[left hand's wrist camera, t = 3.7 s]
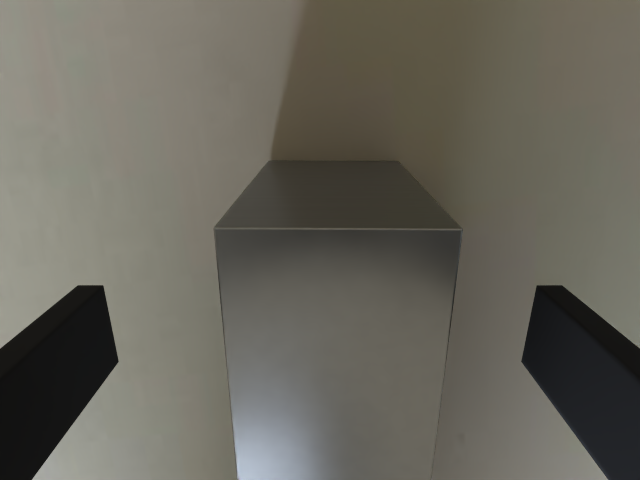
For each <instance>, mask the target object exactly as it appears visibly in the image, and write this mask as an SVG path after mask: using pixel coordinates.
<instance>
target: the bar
mask: <svg viewBox="0 0 640 480" xmlns="http://www.w3.org/2000/svg"><path fill="white" fill-rule="evenodd" d="M462 231H463V230H462V228H461V227H460V226H459V225H458V224H457V223H456V222H455V221H454V220H453V219H452V218H451V216H450V215H449V214H448V213H447V212H446V211H445V210H444V209H443V208H442V207H441V206H440V205H439V204H438V203H437V202H436V201H435V200H434V199H433V198H432V196H431V195H430V194H429V193H428V192H427V191H426V190H425V189H424V188H423V187H422V186H421V185H420V184H419V183H418V182H417V181H416V180H415V179H414V177H413V176H412V175H411V174H410V173H409V172H408V171H407V170H406V169H405V168H404V167H403V166H402V165H401V164H400V163H399V162H398V161H268V162H267V163H266V165H265V166H264V167H263V168H262V169H261V171H260V172H259V173H258V174H257V176H256V177H255V178H254V179H253V180H252V182H251V183H250V184H249V185H248V187H247V188H246V189H245V190H244V191H243V193H242V194H241V195H240V196H239V198H238V199H237V200H236V201H235V202H234V204H233V205H232V206H231V207H230V209H229V210H228V211H227V212H226V213H225V215H224V216H223V217H222V218H221V220H220V221H219V222H218V223H217V225H216V226H215V227H214V237H215V247H216V258H217V269H218V279H219V290H220V300H221V311H222V322H223V332H224V343H225V354H226V364H227V375H228V386H229V396H230V407H231V417H232V428H233V439H234V449H235V460H236V471H237V480H431V476H432V468H433V461H434V453H435V445H436V437H437V429H438V421H439V413H440V405H441V397H442V389H443V381H444V374H445V366H446V358H447V350H448V342H449V334H450V326H451V318H452V310H453V302H454V294H455V287H456V279H457V271H458V263H459V255H460V247H461V239H462Z"/></svg>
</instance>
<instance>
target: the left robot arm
mask: <svg viewBox="0 0 640 480" xmlns="http://www.w3.org/2000/svg"><path fill="white" fill-rule="evenodd" d="M118 362H119V361H118V356H117V351H116V346H115V342H114V337H113V332H112V327H111V322H110V317H109V312H108V307H107V302H106V297H105V292H104V287H103V285H78V286H77V287H75V288H74V289H73V290H72V291H71V292H69V293H68V294H67V295H66V296H64V297H63V298H62V299H61V300H59V301H58V302H57V303H56V304H55V305H53V306H52V307H51V308H50V309H48V310H47V311H46V312H45V313H44V314H42V315H41V316H40V317H39V318H37V319H36V320H35V321H34V322H32V323H31V324H30V325H29V326H28V327H26V328H25V329H24V330H23V331H21V332H20V333H19V334H18V335H17V336H15V337H14V338H13V339H12V340H10V341H9V342H8V343H7V344H6V345H4V346H3V347H2V348H1V349H0V480H32V479H33V477H34V476H35V474H36V473H37V472H38V470H39V469H40V468H41V466H42V465H43V464H44V462H45V461H46V460H47V458H48V457H49V455H50V454H51V453H52V451H53V450H54V449H55V447H56V446H57V445H58V443H59V442H60V441H61V439H62V438H63V436H64V435H65V434H66V432H67V431H68V430H69V428H70V427H71V426H72V424H73V423H74V422H75V420H76V419H77V417H78V416H79V415H80V413H81V412H82V411H83V409H84V408H85V407H86V405H87V404H88V403H89V401H90V400H91V398H92V397H93V396H94V394H95V393H96V392H97V390H98V389H99V388H100V386H101V385H102V383H103V382H104V381H105V379H106V378H107V377H108V375H109V374H110V373H111V371H112V370H113V369H114V367H115V366H116V364H117V363H118ZM521 362H522V363H523V364H524V366H525V367H526V369H527V370H528V371H529V373H530V374H531V375H532V377H533V378H534V379H535V381H536V382H537V383H538V385H539V386H540V388H541V389H542V390H543V392H544V393H545V394H546V396H547V397H548V398H549V400H550V401H551V403H552V404H553V405H554V407H555V408H556V409H557V411H558V412H559V413H560V415H561V416H562V417H563V419H564V420H565V422H566V423H567V424H568V426H569V427H570V428H571V430H572V431H573V432H574V434H575V435H576V436H577V438H578V439H579V441H580V442H581V443H582V445H583V446H584V447H585V449H586V450H587V451H588V453H589V454H590V455H591V457H592V458H593V460H594V461H595V462H596V464H597V465H598V466H599V468H600V469H601V470H602V472H603V473H604V474H605V476H606V477H607V479H608V480H640V349H639V348H638V347H637V346H636V345H634V344H633V343H632V342H631V341H630V340H628V339H627V338H626V337H625V336H623V335H622V334H621V333H620V332H619V331H617V330H616V329H615V328H614V327H612V326H611V325H610V324H609V323H607V322H606V321H605V320H604V319H603V318H601V317H600V316H599V315H598V314H596V313H595V312H594V311H593V310H592V309H590V308H589V307H588V306H587V305H585V304H584V303H583V302H582V301H581V300H579V299H578V298H577V297H576V296H574V295H573V294H572V293H571V292H569V291H568V290H567V289H566V288H565V287H563V286H562V285H537V287H536V292H535V297H534V302H533V307H532V312H531V317H530V322H529V327H528V332H527V337H526V341H525V346H524V351H523V356H522V361H521Z"/></svg>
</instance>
